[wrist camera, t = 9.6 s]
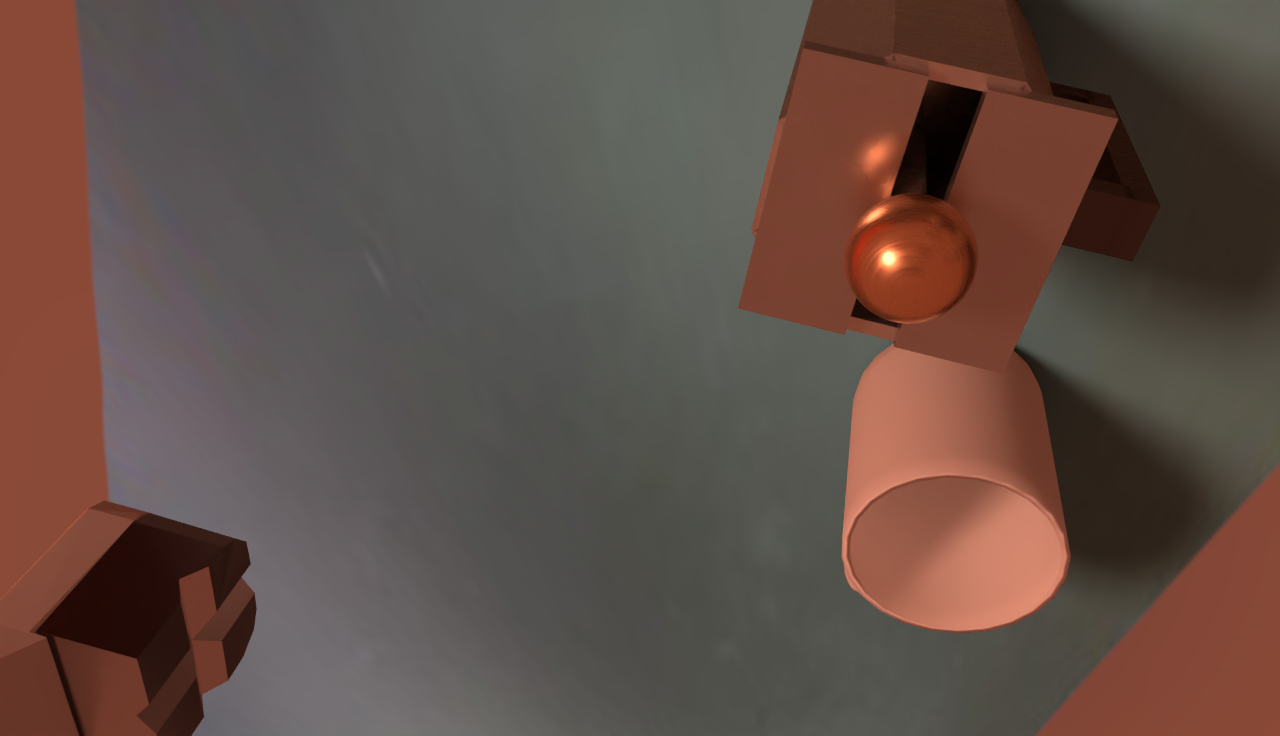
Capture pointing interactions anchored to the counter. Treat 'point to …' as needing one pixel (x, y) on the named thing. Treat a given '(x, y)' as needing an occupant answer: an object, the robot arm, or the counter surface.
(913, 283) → the copper ball on rod
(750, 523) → the counter surface
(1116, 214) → the press carafe
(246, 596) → the robot arm
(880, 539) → the mug
